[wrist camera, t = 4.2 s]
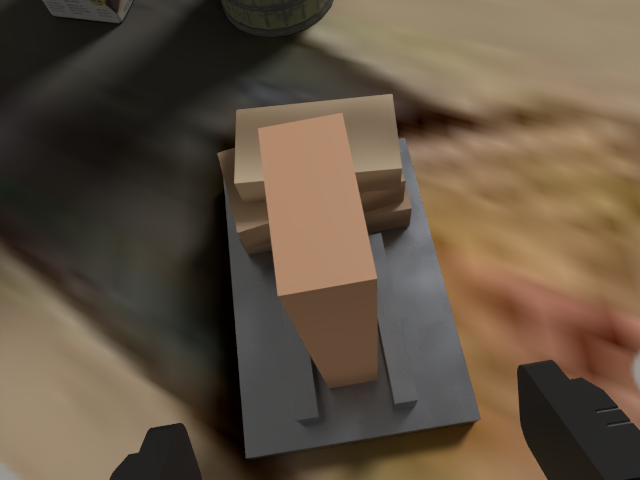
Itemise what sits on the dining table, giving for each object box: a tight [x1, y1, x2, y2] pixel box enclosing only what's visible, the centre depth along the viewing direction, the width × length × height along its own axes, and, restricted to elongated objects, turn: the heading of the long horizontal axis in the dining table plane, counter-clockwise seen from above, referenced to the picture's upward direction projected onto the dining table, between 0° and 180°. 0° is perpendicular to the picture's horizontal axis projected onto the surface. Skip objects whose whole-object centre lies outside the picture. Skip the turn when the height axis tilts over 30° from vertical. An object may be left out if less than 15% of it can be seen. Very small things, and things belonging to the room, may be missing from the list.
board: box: [258, 113, 378, 388], centre depth 20 cm, size 5×2×14 cm, turn 9°
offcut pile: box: [218, 94, 412, 254], centre depth 27 cm, size 6×9×6 cm, turn 99°
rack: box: [224, 138, 481, 460], centre depth 27 cm, size 16×11×4 cm
